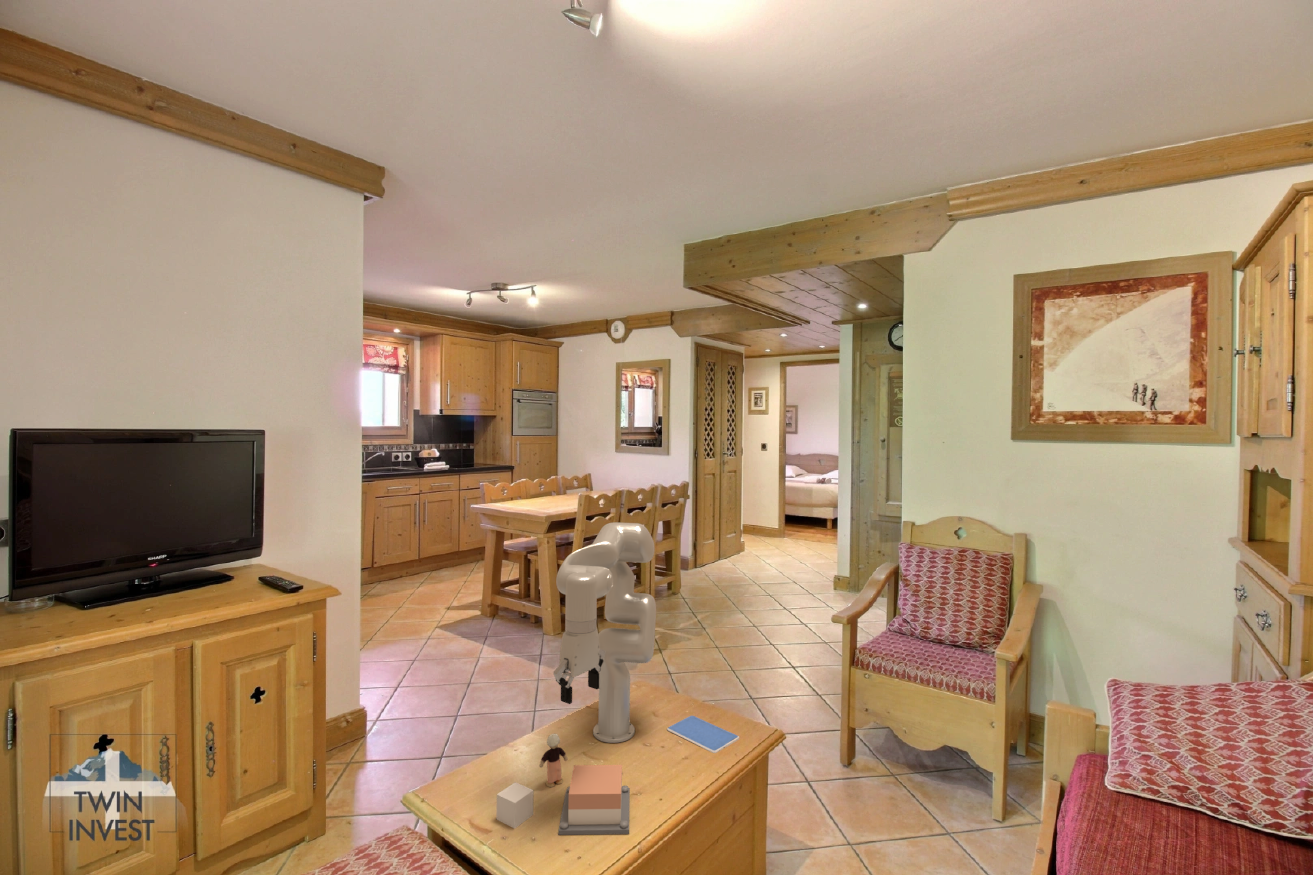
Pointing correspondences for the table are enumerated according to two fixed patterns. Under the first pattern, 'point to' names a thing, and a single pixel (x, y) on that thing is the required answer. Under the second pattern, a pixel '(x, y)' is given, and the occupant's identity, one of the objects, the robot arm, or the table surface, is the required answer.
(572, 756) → the table surface
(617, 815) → the pink framed box
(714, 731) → the tablet computer
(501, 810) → the white cube
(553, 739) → the grandmother figurine
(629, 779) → the table surface
